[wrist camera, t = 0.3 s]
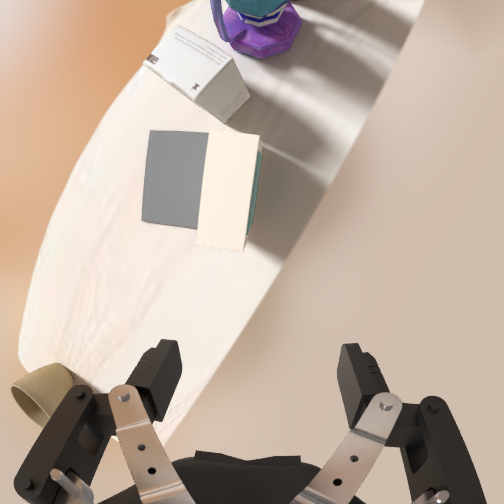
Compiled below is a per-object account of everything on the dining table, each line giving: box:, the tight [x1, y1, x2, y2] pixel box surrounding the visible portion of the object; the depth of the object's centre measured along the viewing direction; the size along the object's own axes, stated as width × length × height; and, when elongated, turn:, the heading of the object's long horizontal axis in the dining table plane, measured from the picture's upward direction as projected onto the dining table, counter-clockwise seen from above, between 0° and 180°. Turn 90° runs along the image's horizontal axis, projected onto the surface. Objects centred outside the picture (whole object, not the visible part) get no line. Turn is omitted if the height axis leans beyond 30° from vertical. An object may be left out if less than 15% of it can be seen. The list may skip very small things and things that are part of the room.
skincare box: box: [143, 25, 250, 124], centre depth 28 cm, size 8×6×15 cm
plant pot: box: [10, 363, 74, 429], centre depth 46 cm, size 15×15×16 cm
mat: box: [142, 130, 209, 229], centre depth 39 cm, size 14×11×1 cm
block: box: [196, 130, 263, 252], centre depth 33 cm, size 12×5×12 cm, turn 172°
